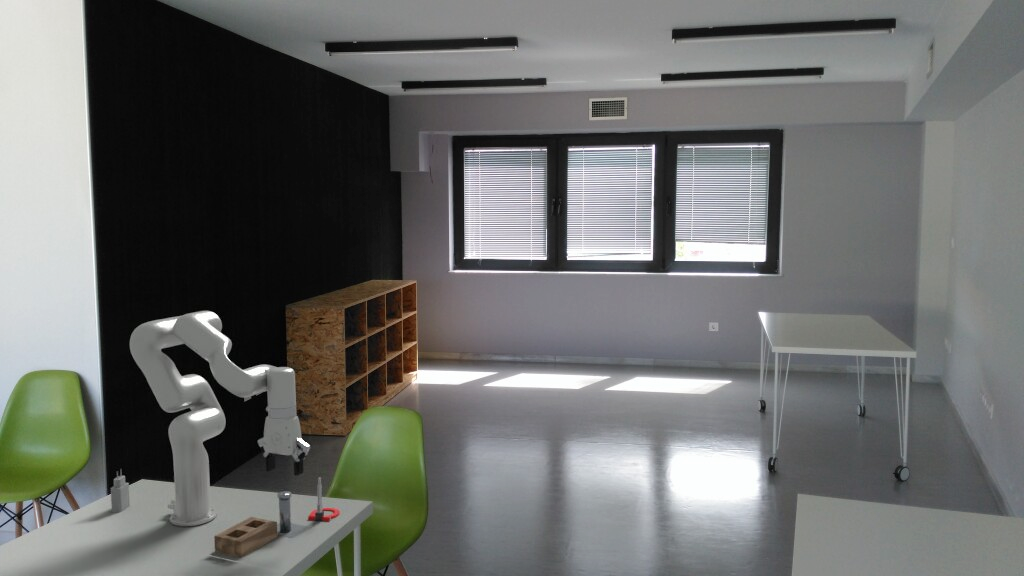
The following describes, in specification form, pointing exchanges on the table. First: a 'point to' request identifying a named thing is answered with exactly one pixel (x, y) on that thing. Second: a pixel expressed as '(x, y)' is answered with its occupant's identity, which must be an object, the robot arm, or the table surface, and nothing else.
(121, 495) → the power adapter
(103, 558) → the table surface
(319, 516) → the tow hook
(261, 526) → the block
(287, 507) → the pin
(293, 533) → the mat
